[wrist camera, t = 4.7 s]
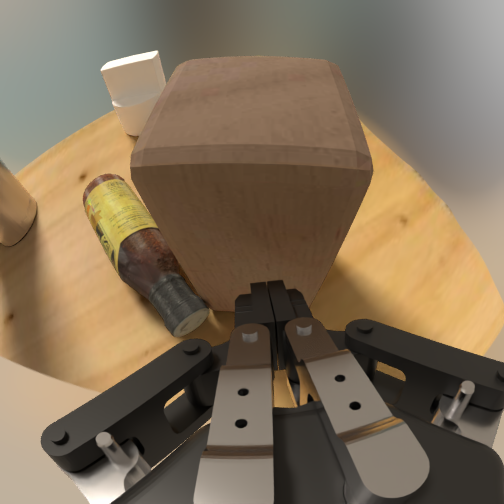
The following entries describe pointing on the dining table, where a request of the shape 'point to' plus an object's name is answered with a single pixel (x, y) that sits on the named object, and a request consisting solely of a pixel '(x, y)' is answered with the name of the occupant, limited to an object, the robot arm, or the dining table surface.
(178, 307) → the sauce bottle
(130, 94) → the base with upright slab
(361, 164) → the block
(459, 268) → the dining table surface
